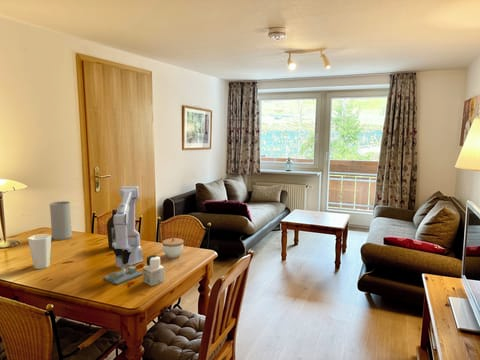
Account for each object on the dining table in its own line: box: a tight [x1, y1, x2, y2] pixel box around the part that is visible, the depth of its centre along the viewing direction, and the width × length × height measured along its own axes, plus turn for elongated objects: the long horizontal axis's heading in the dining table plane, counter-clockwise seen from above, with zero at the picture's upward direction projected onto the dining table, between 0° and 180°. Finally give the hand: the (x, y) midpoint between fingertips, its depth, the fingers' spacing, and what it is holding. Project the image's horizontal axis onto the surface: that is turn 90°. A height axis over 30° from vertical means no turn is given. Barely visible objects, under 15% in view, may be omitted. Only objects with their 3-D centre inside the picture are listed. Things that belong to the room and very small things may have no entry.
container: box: [142, 254, 166, 287], centre depth 170 cm, size 8×8×13 cm
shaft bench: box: [102, 265, 143, 286], centre depth 176 cm, size 15×12×4 cm
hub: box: [115, 255, 130, 269], centre depth 175 cm, size 5×5×5 cm
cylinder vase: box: [49, 200, 73, 241], centre depth 241 cm, size 12×12×25 cm
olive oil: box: [106, 208, 118, 250], centre depth 220 cm, size 11×11×25 cm
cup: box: [27, 233, 52, 270], centre depth 188 cm, size 11×10×17 cm
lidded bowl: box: [161, 237, 185, 259], centre depth 207 cm, size 13×13×11 cm
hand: (122, 262), depth 175 cm, fingers closed on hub, 5 cm apart
